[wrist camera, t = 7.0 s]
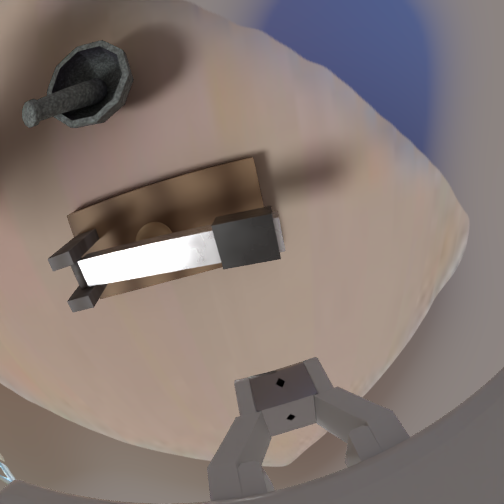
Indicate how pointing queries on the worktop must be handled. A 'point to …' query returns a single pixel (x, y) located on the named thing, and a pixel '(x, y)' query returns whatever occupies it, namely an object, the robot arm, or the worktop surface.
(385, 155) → the worktop surface
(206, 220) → the base
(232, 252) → the lever
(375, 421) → the robot arm
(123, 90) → the mortar and pestle
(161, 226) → the smooth brown ball
